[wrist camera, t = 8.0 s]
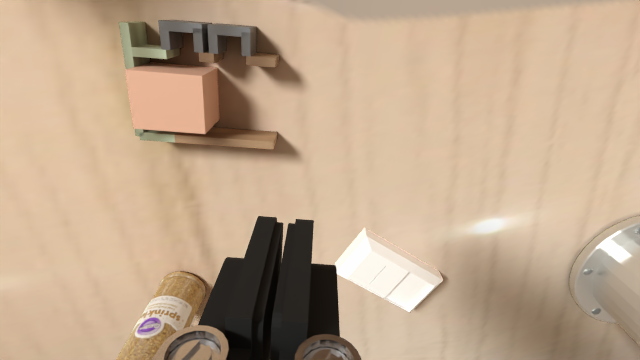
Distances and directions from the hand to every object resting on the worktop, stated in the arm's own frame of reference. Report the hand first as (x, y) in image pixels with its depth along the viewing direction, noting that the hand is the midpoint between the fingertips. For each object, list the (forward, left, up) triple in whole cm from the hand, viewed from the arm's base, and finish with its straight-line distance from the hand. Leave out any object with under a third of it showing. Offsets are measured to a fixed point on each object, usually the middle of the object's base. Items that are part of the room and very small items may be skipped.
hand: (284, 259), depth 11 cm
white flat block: (-9, +15, -20) cm, 26 cm away
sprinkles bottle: (+11, +19, -19) cm, 29 cm away
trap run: (+7, -1, -19) cm, 21 cm away
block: (+9, -1, -19) cm, 22 cm away
